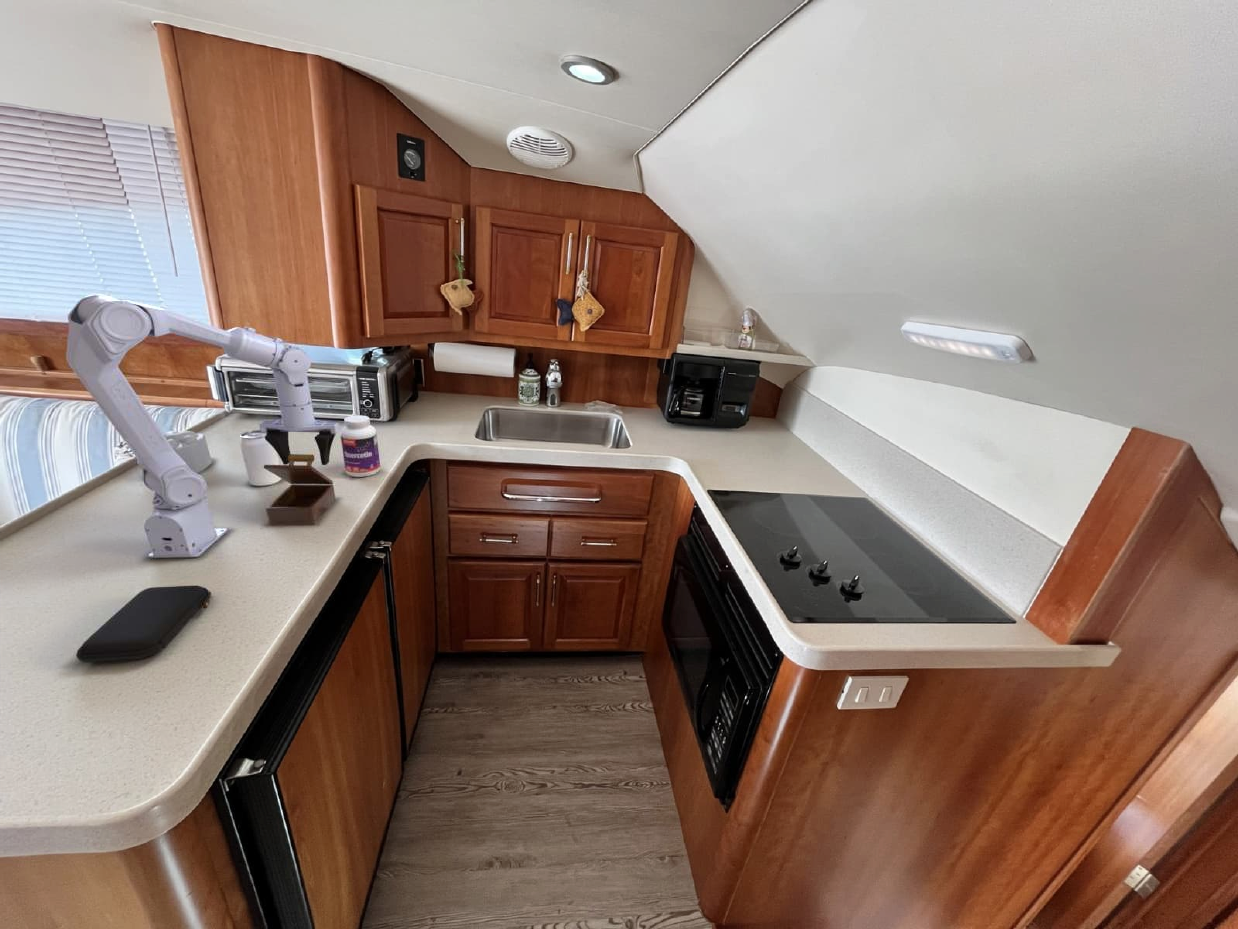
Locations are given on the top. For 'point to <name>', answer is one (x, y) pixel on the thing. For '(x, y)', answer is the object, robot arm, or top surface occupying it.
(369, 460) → the pill bottle
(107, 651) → the carrying case
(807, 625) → the top surface
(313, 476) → the lid
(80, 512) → the top surface
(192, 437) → the lumpy-topped squat cylinder
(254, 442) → the can
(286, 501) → the keepsake box
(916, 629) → the top surface
